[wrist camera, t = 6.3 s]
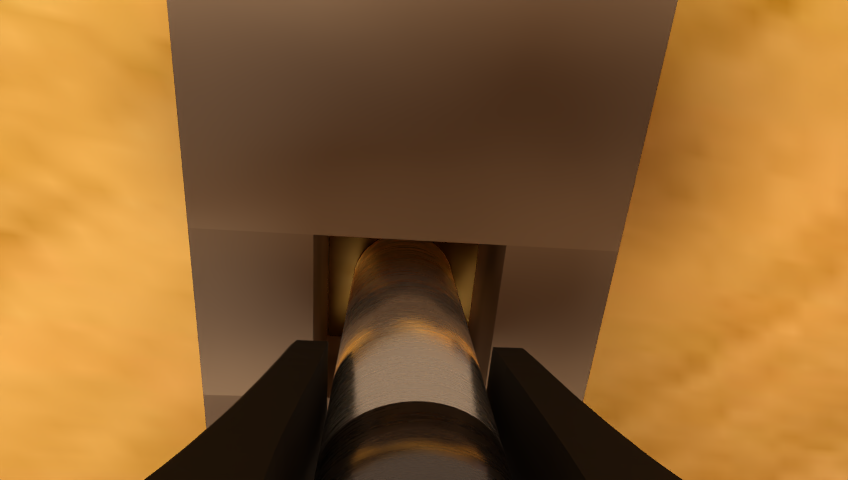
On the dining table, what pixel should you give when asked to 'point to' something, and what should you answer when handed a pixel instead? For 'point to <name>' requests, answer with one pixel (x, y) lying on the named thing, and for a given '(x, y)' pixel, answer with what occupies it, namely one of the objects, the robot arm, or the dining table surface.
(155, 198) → the dining table surface
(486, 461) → the cylindrical metal peg
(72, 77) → the dining table surface
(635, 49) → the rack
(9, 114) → the dining table surface
